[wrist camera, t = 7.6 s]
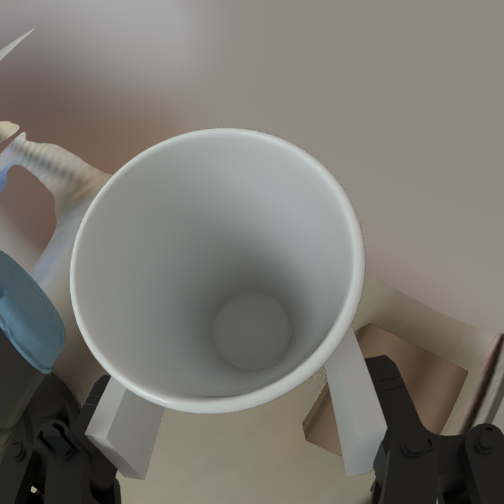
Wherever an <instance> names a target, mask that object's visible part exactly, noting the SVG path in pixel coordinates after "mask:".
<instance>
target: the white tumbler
mask: <svg viewBox="0 0 504 504" xmlns="http://www.w3.org/2000/svg"><path fill="white" fill-rule="evenodd" d="M364 279H365V246H364V238H363V234H362V230H361V225H360V222H359V219H358V216H357V214H356V211H355V209H354V207H353V205H352V202H351V200H350V198H349V197H348V195H347V193H346V192H345V190H344V189H343V187H342V185H341V184H340V183H339V182H338V180H337V179H336V178H335V176H334V175H333V174H332V173H331V172H330V171H329V170H328V169H327V168H326V167H325V166H324V165H323V164H322V163H321V162H319V161H318V160H317V159H316V158H315V157H314V156H312V155H311V154H309V153H308V152H307V151H305V150H303V149H302V148H300V147H298V146H297V145H295V144H293V143H291V142H289V141H286V140H284V139H282V138H279V137H277V136H274V135H271V134H268V133H264V132H260V131H255V130H249V129H240V128H210V129H203V130H197V131H192V132H188V133H184V134H181V135H178V136H174V137H172V138H169V139H167V140H164V141H162V142H160V143H158V144H156V145H154V146H152V147H150V148H148V149H147V150H145V151H143V152H141V153H140V154H138V155H137V156H135V157H134V158H133V159H131V160H130V161H129V162H127V163H126V164H125V165H124V166H123V167H121V168H120V169H119V170H118V171H117V172H116V173H115V174H114V175H113V176H112V177H111V178H110V179H109V180H108V181H107V182H106V184H105V185H104V186H103V187H102V188H101V190H100V191H99V192H98V194H97V195H96V197H95V198H94V200H93V201H92V203H91V204H90V206H89V208H88V210H87V212H86V214H85V215H84V217H83V220H82V222H81V224H80V227H79V229H78V232H77V235H76V239H75V242H74V246H73V251H72V256H71V263H70V294H71V301H72V307H73V311H74V315H75V318H76V321H77V324H78V327H79V329H80V332H81V334H82V336H83V338H84V340H85V342H86V344H87V346H88V347H89V349H90V351H91V352H92V354H93V355H94V357H95V358H96V359H97V361H98V362H99V363H100V364H101V366H102V367H103V368H104V369H105V370H106V371H107V372H108V373H109V374H110V375H111V376H112V377H113V378H114V379H115V380H117V381H118V382H119V383H120V384H121V385H123V386H124V387H125V388H127V389H128V390H130V391H131V392H133V393H135V394H136V395H138V396H140V397H142V398H144V399H146V400H148V401H150V402H152V403H154V404H157V405H160V406H163V407H166V408H169V409H173V410H178V411H182V412H188V413H197V414H222V413H230V412H237V411H242V410H246V409H250V408H254V407H257V406H260V405H262V404H265V403H268V402H271V401H273V400H275V399H277V398H279V397H281V396H283V395H285V394H287V393H288V392H290V391H292V390H293V389H295V388H296V387H298V386H299V385H301V384H302V383H303V382H305V381H306V380H307V379H308V378H310V377H311V376H312V375H313V374H314V373H316V372H317V371H318V370H319V369H320V368H321V367H322V366H323V365H324V364H325V363H326V361H327V360H328V359H329V358H330V357H331V356H332V354H333V353H334V352H335V350H336V349H337V348H338V347H339V345H340V343H341V342H342V340H343V339H344V337H345V335H346V334H347V332H348V330H349V328H350V326H351V324H352V322H353V319H354V317H355V315H356V312H357V309H358V306H359V303H360V300H361V295H362V291H363V286H364Z"/></svg>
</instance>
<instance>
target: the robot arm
mask: <svg viewBox="0 0 504 504" xmlns="http://www.w3.org/2000/svg"><path fill="white" fill-rule="evenodd" d="M64 343H65V329H64V325H63V322H62V320H61V318H60V316H59V314H58V312H57V310H56V308H55V307H54V305H53V304H52V302H51V301H50V299H49V298H48V297H47V295H46V294H45V293H44V292H43V290H42V289H41V288H40V287H39V285H38V284H37V283H36V282H35V281H34V280H33V278H32V277H31V276H30V275H29V274H28V273H27V272H26V271H25V270H24V269H23V268H22V267H21V266H20V265H19V264H18V263H17V262H16V261H14V260H13V259H12V258H11V257H10V256H8V255H7V254H6V253H4V252H3V251H1V250H0V504H121V493H120V485H119V481H118V480H117V479H116V478H115V476H116V473H117V470H118V471H119V472H120V473H121V474H122V475H123V476H125V477H128V478H134V479H140V480H145V476H146V472H147V469H148V465H149V461H150V457H151V453H152V450H153V446H154V442H155V439H156V435H157V431H158V428H159V424H160V421H161V417H162V413H163V410H164V407H163V406H160V405H157V404H154V403H152V402H150V401H148V400H146V399H144V398H142V397H140V396H138V395H136V394H135V393H133V392H131V391H130V390H128V389H127V388H125V387H124V386H123V385H121V384H120V383H119V382H118V381H117V380H115V379H114V378H113V377H112V376H108V375H103V376H102V377H101V378H100V379H99V380H98V381H97V382H96V383H95V384H94V386H93V388H92V390H91V392H90V394H89V397H88V398H87V400H86V402H85V405H84V406H83V408H82V410H81V412H80V411H79V409H78V406H77V404H76V401H75V399H74V397H73V396H72V394H71V392H70V391H69V389H68V388H67V387H66V386H65V384H64V383H63V382H62V381H61V380H60V379H58V378H57V377H56V376H54V375H52V374H51V371H52V369H53V364H54V362H55V360H56V359H57V357H58V355H59V354H60V352H61V350H62V348H63V346H64ZM324 366H325V371H326V375H327V380H328V384H329V389H330V394H331V399H332V404H333V408H334V413H335V418H336V423H337V429H338V434H339V439H340V444H341V450H342V455H343V461H344V466H345V472H346V477H349V476H355V475H359V474H364V473H369V472H371V470H372V468H373V467H374V471H375V475H376V478H375V481H374V483H373V485H372V487H371V489H370V491H372V495H371V501H370V504H436V501H437V499H438V504H504V435H503V433H502V432H501V430H500V429H499V428H498V427H496V426H494V425H492V424H487V423H485V424H479V425H477V426H475V427H473V428H472V429H471V430H470V431H469V433H468V434H467V435H453V436H442V435H437V434H434V433H432V432H431V431H429V430H427V429H426V428H425V427H424V426H423V424H422V422H421V421H420V418H419V416H418V413H417V411H416V408H415V406H414V404H413V401H412V399H411V397H410V394H409V392H408V390H407V387H405V383H404V381H403V378H401V374H400V372H399V369H398V367H397V365H396V363H395V362H393V361H392V360H391V359H390V358H389V357H388V356H387V355H381V356H376V357H370V358H365V359H364V358H363V355H362V352H361V350H360V347H359V344H358V342H357V339H356V336H355V334H354V331H353V329H352V326H350V328H349V330H348V332H347V334H346V335H345V337H344V339H343V340H342V342H341V343H340V345H339V347H338V348H337V349H336V350H335V352H334V353H333V354H332V356H331V357H330V358H329V359H328V360H327V361H326V363H325V364H324ZM32 486H33V487H35V488H36V489H37V491H36V492H35V493H32V492H31V491H30V490H31V487H32Z"/></svg>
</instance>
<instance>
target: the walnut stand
mask: <svg viewBox="0 0 504 504" xmlns="http://www.w3.org/2000/svg"><path fill="white" fill-rule="evenodd" d="M354 334H355V336H356V339H357V342H358V344H359V347H360V350H361V352H362V355H363V358H364V359H365V358H370V357H376V356H381V355H387V356H388V357H389V358H390V359H391V360H392V361H393V362H395V363H396V365H397V367H398V369H399V372H400V374H401V378H403V381H404V383H405V387H407V390H408V392H409V394H410V397H411V399H412V401H413V404H414V406H415V408H416V411H417V413H418V416H419V418H420V421H421V422H422V424H423V426H424V427H425V428H426V429H427V430H429V431H431V432H432V433H434V434H437V435H440V433H441V431H442V429H443V427H444V425H445V423H446V421H447V419H448V417H449V415H450V413H451V411H452V409H453V407H454V404H455V402H456V400H457V398H458V395H459V393H460V391H461V388H462V386H463V384H464V381H465V379H466V376H467V374H468V371H466V370H464V369H462V368H460V367H458V366H456V365H454V364H452V363H450V362H448V361H446V360H444V359H442V358H440V357H438V356H436V355H434V354H432V353H430V352H428V351H426V350H424V349H422V348H420V347H418V346H416V345H414V344H412V343H410V342H408V341H406V340H404V339H402V338H400V337H398V336H396V335H394V334H392V333H390V332H388V331H386V330H384V329H382V328H380V327H378V326H376V325H374V324H372V323H370V324H368V325H366V326H364V327H363V328H361V329H359V330H357V331H356V332H354ZM302 425H303V429H304V434H305V439H306V440H307V441H309V442H311V443H313V444H315V445H317V446H320V447H322V448H324V449H326V450H328V451H331V452H333V453H335V454H338V455H340V456H342V457H343V455H342V450H341V444H340V439H339V434H338V429H337V423H336V418H335V413H334V408H333V404H332V399H331V394H330V389H329V384H328V382H327V384H326V385H325V387H324V389H323V391H322V392H321V394H320V396H319V398H318V399H317V401H316V403H315V404H314V406H313V408H312V409H311V411H310V413H309V414H308V416H307V417H306V419H305V421H304V422H303V424H302ZM373 469H374V467H373Z"/></svg>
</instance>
